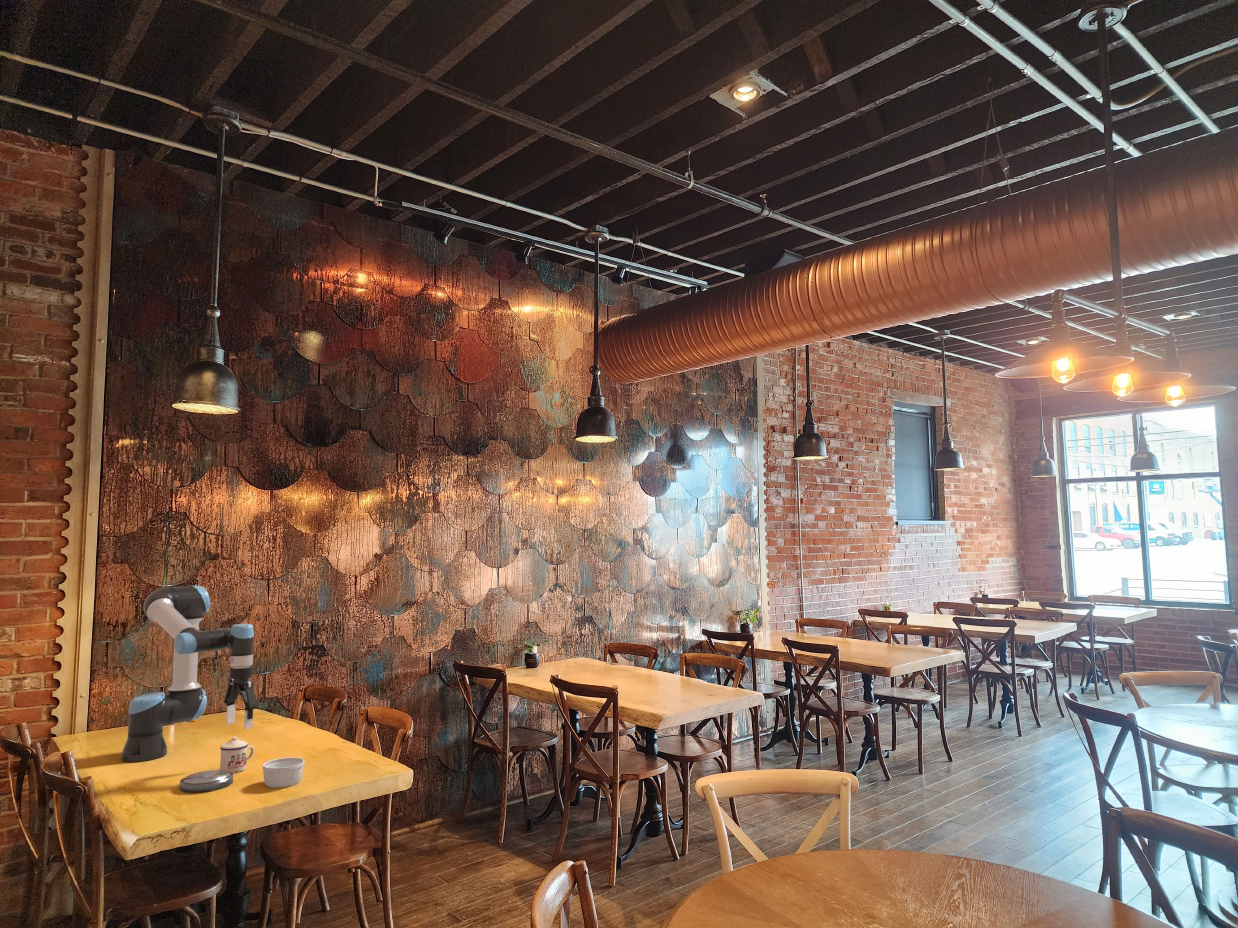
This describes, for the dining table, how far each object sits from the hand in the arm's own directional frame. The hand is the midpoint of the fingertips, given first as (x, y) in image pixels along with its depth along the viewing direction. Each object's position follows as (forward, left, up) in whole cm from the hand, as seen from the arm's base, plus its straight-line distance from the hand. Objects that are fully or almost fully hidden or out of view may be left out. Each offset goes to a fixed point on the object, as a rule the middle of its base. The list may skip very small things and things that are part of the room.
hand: (239, 725), depth 276 cm
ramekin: (+29, +2, -16) cm, 33 cm away
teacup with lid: (0, 0, -16) cm, 16 cm away
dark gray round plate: (+10, -15, -15) cm, 24 cm away
